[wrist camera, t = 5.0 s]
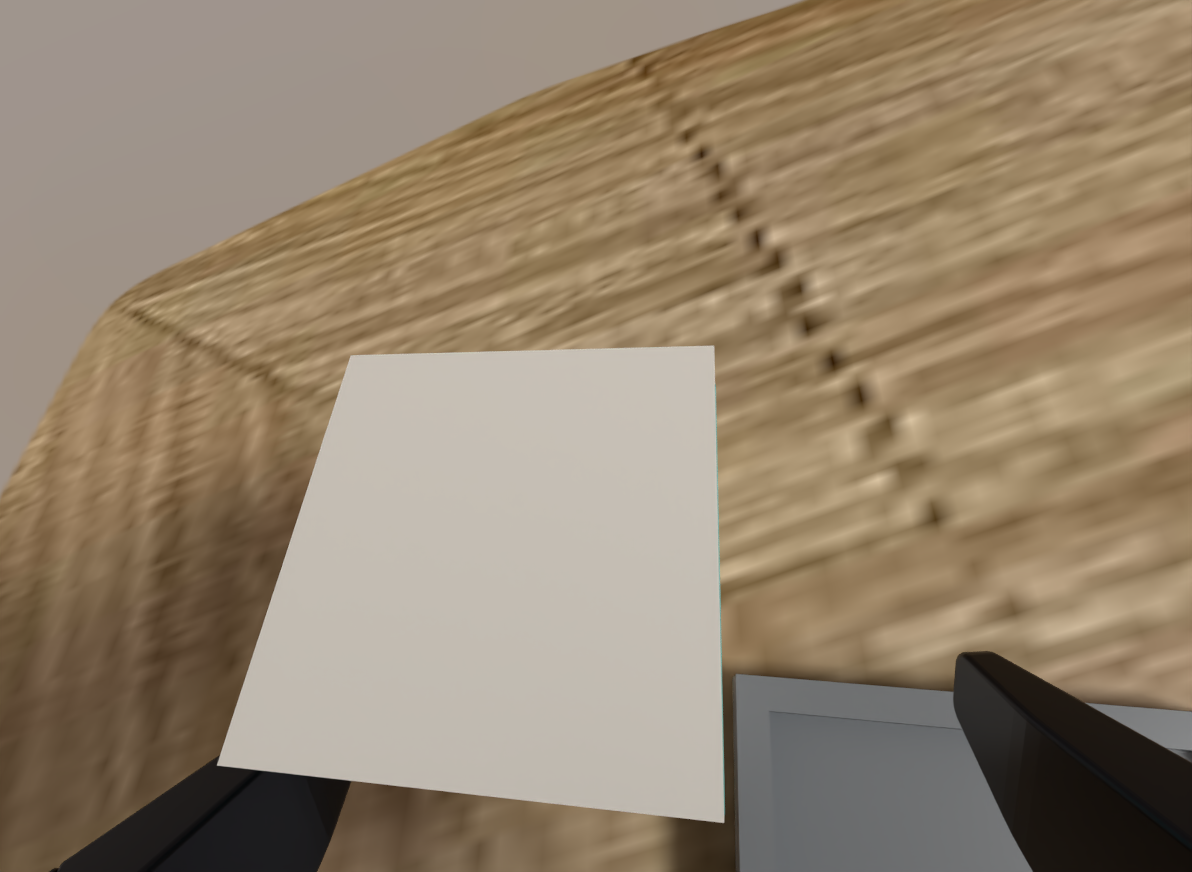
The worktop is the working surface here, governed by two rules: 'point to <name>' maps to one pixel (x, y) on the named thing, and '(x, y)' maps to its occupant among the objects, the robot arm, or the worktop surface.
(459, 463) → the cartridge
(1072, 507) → the worktop surface
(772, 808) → the tray
